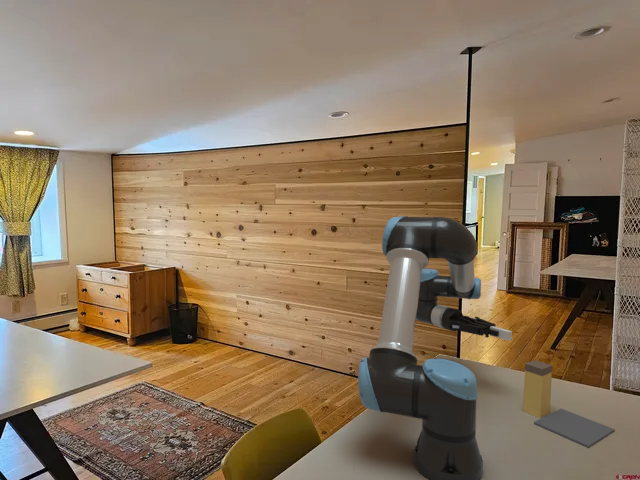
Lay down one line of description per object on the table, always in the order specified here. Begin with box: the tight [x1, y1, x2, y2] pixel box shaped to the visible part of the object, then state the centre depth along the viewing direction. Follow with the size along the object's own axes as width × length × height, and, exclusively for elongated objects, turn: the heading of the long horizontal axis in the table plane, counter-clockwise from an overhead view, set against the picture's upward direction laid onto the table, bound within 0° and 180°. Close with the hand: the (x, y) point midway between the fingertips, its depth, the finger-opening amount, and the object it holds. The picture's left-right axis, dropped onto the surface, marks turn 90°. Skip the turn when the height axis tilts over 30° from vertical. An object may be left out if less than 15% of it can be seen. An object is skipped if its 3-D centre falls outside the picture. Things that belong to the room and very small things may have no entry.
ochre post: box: [522, 359, 553, 419], centre depth 122 cm, size 5×5×14 cm
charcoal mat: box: [533, 408, 616, 449], centre depth 115 cm, size 14×14×1 cm
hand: (510, 336), depth 129 cm, fingers closed
